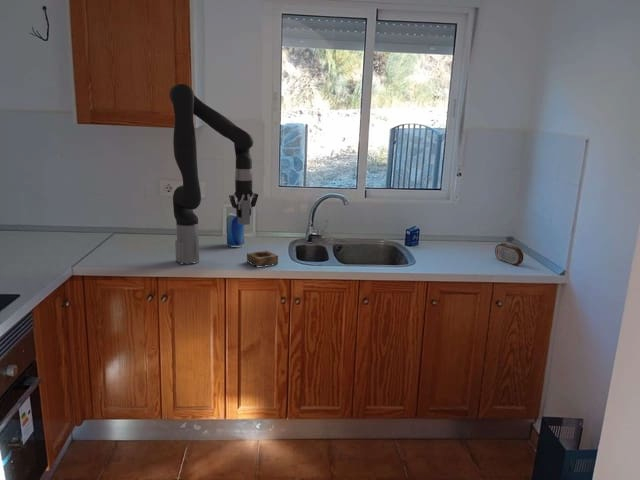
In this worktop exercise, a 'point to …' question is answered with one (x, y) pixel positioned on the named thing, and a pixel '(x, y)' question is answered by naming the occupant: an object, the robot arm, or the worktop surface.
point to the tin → (509, 254)
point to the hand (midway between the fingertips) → (243, 216)
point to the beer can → (234, 231)
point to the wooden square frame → (262, 258)
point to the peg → (244, 213)
